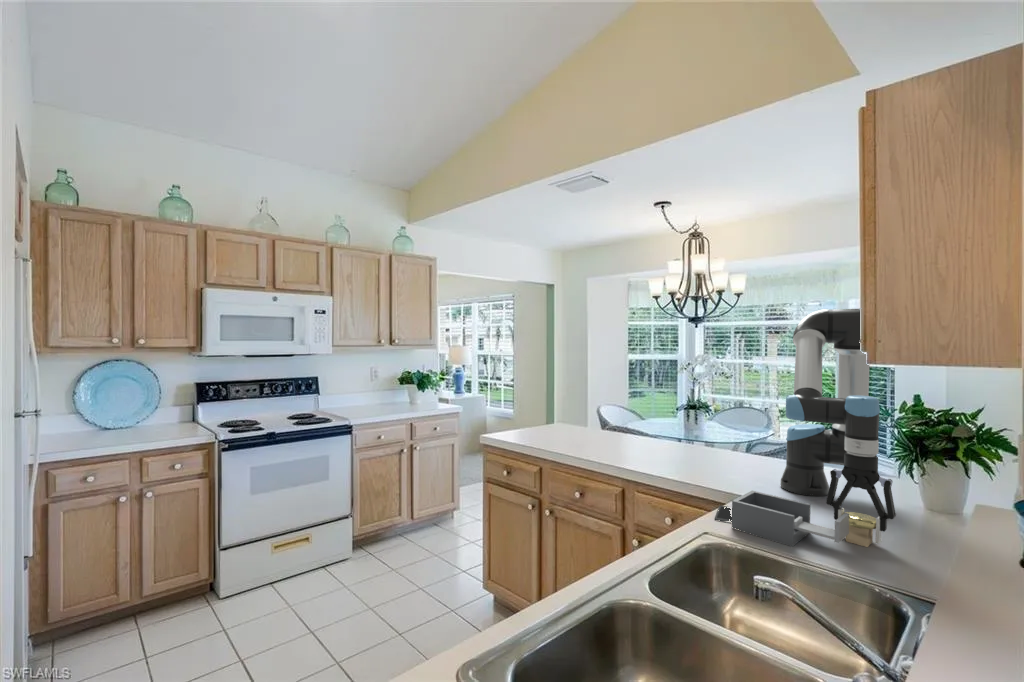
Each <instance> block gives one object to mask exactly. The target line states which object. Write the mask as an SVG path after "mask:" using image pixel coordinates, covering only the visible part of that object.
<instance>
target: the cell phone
mask: <svg viewBox="0 0 1024 682" xmlns="http://www.w3.org/2000/svg"><path fill="white" fill-rule="evenodd" d="M724 507H726V508H725V509H724ZM727 507H728V506H725V505H719V506H718V508H717V511H716V514H715V516H714V521H716V520H720V521H729V519H730V521H731V520H732V517H731V516H730V515H731V514H730V511H729V510H731V509H730V508H727ZM718 510H719V511H718ZM720 521H719V522H720ZM731 522H732V521H731Z"/></svg>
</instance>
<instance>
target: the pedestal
mask: <svg viewBox="0 0 1024 682" xmlns="http://www.w3.org/2000/svg"><path fill="white" fill-rule="evenodd" d="M873 530H874V529H862V528H857V527H853V526H850V525H849V534H848V535H847V536H846V537H845V542H846V543H850V544H854V545H858V546H861V547H866V548H869V547H870V545H871V544H872V543H873V535H874V533H873V532H874V531H873Z"/></svg>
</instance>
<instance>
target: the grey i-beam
mask: <svg viewBox="0 0 1024 682" xmlns="http://www.w3.org/2000/svg"><path fill="white" fill-rule="evenodd" d="M802 519H803V517H800V516H799V517H798V518H796V519H795V520H794V529H796V530H800V531H804V532H807V533H808V534H811V535H815V536H819V537H823V538H827V539H829V540H830V539H831V540H834V541H833V542H834V543H836V544H840V543H841V542H842V541H843V540H844V539H846V536H847V535H848V534H849V513H845V512H844V514H843V515H842V516H840V517H839V518H838V519H837V520H834V529H833V528H829V527H826V526H822V525H818V524H815V523H811V522H810V523H807V522H803V521H802Z"/></svg>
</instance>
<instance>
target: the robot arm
mask: <svg viewBox="0 0 1024 682" xmlns="http://www.w3.org/2000/svg"><path fill="white" fill-rule="evenodd" d="M860 309H861V308H860V307H859V308H840V309H839V308H837V309H836V308H835V309H834V308H833V309H831V308H830V309H828V308H824V309H818V310H814V311H813V312H811V313H809V314H808V315H806V316H805V317H803V318H802V319H801V320H800V321H799V323H798V324H797V325H796V327H795V328H794V331H793V335H792V337H793V338H792V341H793V344H794V346H795V361H794V362H795V363H794V382H793V383H794V384H793V394H788V395H786V398H785V399H786V400H785V417H786V418H787V420H792V421H798V422H799V421H800V422H811V423H805V424H803V423H802V424H794V425H790V426H789V427H788V428H787V431H786V433H787V434H786V438H785V440H786V462H785V464H786V465H785V469H784V471H783V472H782V475H781V478H780V483H779V484H780V485H781V486H780V485H779V486H780V488H781V487H782V489H783V488H784V489H786V490H785V491H787V490H788V491H787V492H789V491H791V492H790V493H793V492H794V493H793V494H797V495H802V496H810V497H823V496H827V497H826V501H825V503H826V504H827V505H829V506H831V507H833V519H834V521H836V520H837V519H838V518H839V517H840V516H842V514H843V513H845V508H844V507H842V505H843V504H844V501H845V500H846V498H847V497H848V495H849V494H850V491H851V490H852V489H853V488H854V489H855V488H856V489H857V488H858V489H859V488H860V489H861V490H866V492H867V494H869V497H870V499H871V502H872V504H873V505H874V508H875V511H876V513H877V515H878V516H877V517H875V518H876V529H875V544H877V545H880V544H881V542H882V540H883V539H882V538H883V536H882V535H883V534H882V532H883V533H884V532H886V530H887V526H888V520H894V518H896V515H897V514H896V513H897V512H896V508H895V503H894V497H893V492H892V485H893V479H891V478H888V479H887V478H884V477H882V476H881V475H880V474H879V457H878V454H879V443H880V442H879V427H880V413H881V409H880V401H879V398H878V397H875V396H871V395H869V392H870V391H869V388H870V364H869V365H867V364H866V354H864V353H862V352H861V351H860V343H859V340H860ZM826 343H827V344H833V349H834V350H835V351H836V352H837V353H838V379H837V380H838V383H837V387H838V388H837V391H838V393H837V397H825V396H824V397H823V347H824V346H825V345H826ZM812 422H813V423H812ZM817 423H824V424H832V425H831V429H826V427H825V425H823V424H817ZM825 464H829V465H836V466H837V465H838V466H843V468H842V469H836V468H833V469H832V470H830V473H829V474H830V479H831V480H830V482H828V479H827V477H826V473H825V469H824V468H825ZM842 476H843V477H844V479H845V480H846V484H845V485H844V487H843V489H842V491H841V492H840V495H839V496H838V498H837V499H836V501H835V498H836V493H837V489H838V483H839V479H840V478H841V477H842ZM878 482H879V483H880V486H881V487H882V488H883V495H884V501H885V507H886V509H885V507H884V504H883V503H882V501H881V499H880V497H879V494H878V492H877V489H876V486H875V485H876V484H877V483H878ZM829 483H830V484H829ZM784 489H783V490H784ZM886 511H887V512H886Z"/></svg>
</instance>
